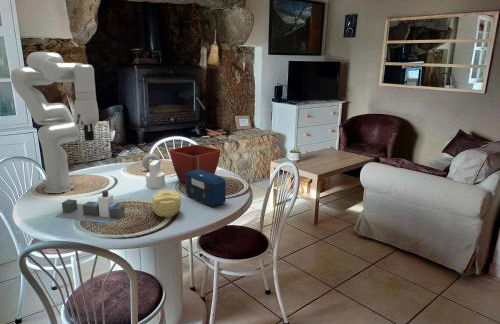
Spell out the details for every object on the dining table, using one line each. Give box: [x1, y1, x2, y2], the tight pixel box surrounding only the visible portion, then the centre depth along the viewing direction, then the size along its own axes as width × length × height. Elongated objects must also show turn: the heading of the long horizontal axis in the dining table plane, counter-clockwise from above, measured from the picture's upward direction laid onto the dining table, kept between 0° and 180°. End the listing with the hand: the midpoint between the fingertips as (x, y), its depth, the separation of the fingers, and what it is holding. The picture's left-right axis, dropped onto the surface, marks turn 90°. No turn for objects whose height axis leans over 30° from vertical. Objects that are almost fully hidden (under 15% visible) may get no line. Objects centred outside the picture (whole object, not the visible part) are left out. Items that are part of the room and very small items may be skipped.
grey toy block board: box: [54, 198, 132, 228], centre depth 147 cm, size 25×14×6 cm, turn 78°
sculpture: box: [151, 189, 182, 218], centre depth 150 cm, size 11×12×11 cm
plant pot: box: [169, 144, 222, 183], centre depth 191 cm, size 19×19×17 cm
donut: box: [141, 153, 161, 171], centre depth 207 cm, size 10×4×10 cm, turn 112°
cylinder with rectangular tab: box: [145, 159, 166, 189], centre depth 183 cm, size 9×9×12 cm
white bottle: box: [97, 189, 115, 217], centre depth 145 cm, size 4×4×10 cm
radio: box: [185, 160, 227, 207], centre depth 165 cm, size 21×9×20 cm, turn 45°
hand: (89, 140), depth 153 cm, fingers closed
